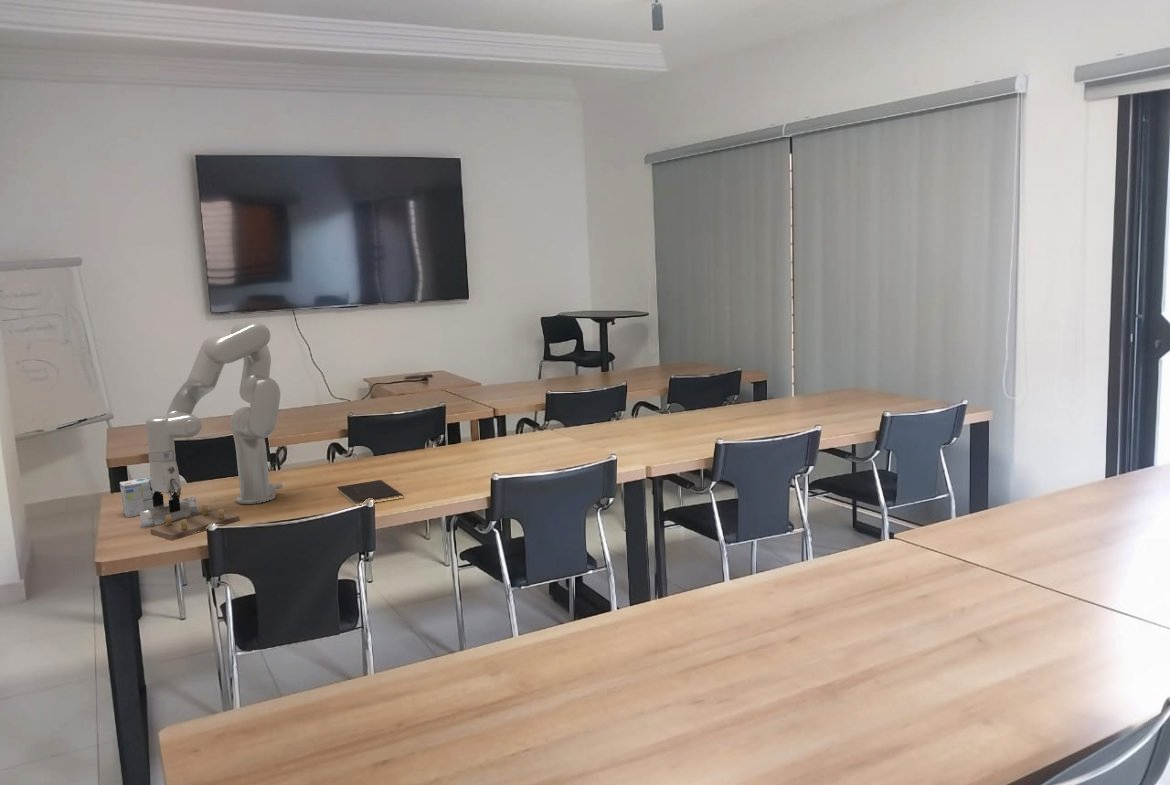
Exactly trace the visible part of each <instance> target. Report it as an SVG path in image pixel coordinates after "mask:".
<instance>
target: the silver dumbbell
mask: <svg viewBox="0 0 1170 785" xmlns="http://www.w3.org/2000/svg"><path fill="white" fill-rule="evenodd" d="M179 500H180V511H177V512H173V513H171V512H170V510H169V502H168V503H164V504H163V505H160V506H156V507H152V508H148V509H143V510H140V511H139V512H140V515H139V519H140V525H141V526H140V527H141V528H142V527H149V528H152V527H151V526H153V527H155V526H158V525H157V524H159V525H161V524H160V523H162V524H165V523H164V522H166V518H165V516H167V515H171V519H172V520H173V521H176V520H175V519H177V520H180V519H179V518H181V519H183V518H182V517H184V518H187V517H186V516H188V517H191V516H190V515H192V516H195V514H196V515H197V513H198V514H199V511H198V500H197V497H195V496H194V497H193V496H192V497H186V498H183V499H179ZM154 525H155V526H154Z"/></svg>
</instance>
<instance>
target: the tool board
mask: <svg viewBox="0 0 1170 785" xmlns="http://www.w3.org/2000/svg"><path fill="white" fill-rule="evenodd" d="M165 518H166V523H165V524H163V525H160V526H155V527H151V528H150V534H151V535H153V534H154V536H157V537H160V538H163V537H164V539H166V538H167V539H166V540H170V541H174V540H178V539H180V538H184V536H185V537H187V536H186V535H188V536H190V535H189V534H191V535H194V534H193V533H195V532H198V531H202V532H204V531H203V530H205V529H206V527H207V526H208V525H209V524H211V523H216V524H225V525H228V524H232V523H235V522H238V521H241V518H240V515H238V514H234V513H231V512H226V511H224V508H219V509H217V510H213V511H210V510H209V505H208V504H205V505H202V514H199V515H196V516H195V515H194V516H192V517H189V518H188V517H187V518H185V519H184V518H181V519H180V520H178V521H172V519H171V515H167V516H165ZM205 531H206V530H205ZM198 533H199V532H198ZM195 534H196V533H195ZM173 539H174V540H173Z"/></svg>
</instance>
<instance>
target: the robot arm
mask: <svg viewBox="0 0 1170 785" xmlns="http://www.w3.org/2000/svg"><path fill="white" fill-rule="evenodd" d="M270 339H271V331H270V329H269V328H268V327H267V326H266V325H265V324H263V323H261V322H255V321H254V322H252V321H241V322H236V323H235V324H233V326H232V328H231V330H230V334H228V335H226V336H218V335H217V336H216V335H215V336H209V337H207V338H206V339H205V340H203V342H202V344H201V345H200V347H199V350H198V353H197V354H196V355H197V356H196V358H195V361H194V363H193V365H192V368H191V370H190V372H189V375H188V376H187V379H186V381H184V383H183V384H182V385H181V386H180V388H179V389H178V391H177V392H176V394H175V395H174V396H173V398H172V400H171V402H170V405H169V406H168V410H167V412H166V414H165V415H164V416H163V415H162V416H153V417H149V418H147V419H146V420H145V431H146V441H147V442H146V443H147V444H146V445H147V452H148V453H147V454H148V463H149V477H150V480H149V485H150V489H151V491H152V492H151V495H152V499H153V507H156V506H160V505H163V504H165V502H164V501H165V500H164V494H166V495H167V496H168V498H169V500H168V503H169V510H170V512H171V513H173V512H177V511H180V500H181V499H180V498H181V491H182V486H181V479H180V473H179V471H180V470H179V467H178V463H177V460H176V459H177V458H176V450H175V449H176V448H175V446H176V445H175V439H187V438H188V439H191V438H193V437H195V436H197V435H199V433H200V432H201V431H202V427H203V426H202V422H201V419H200V418H199V417H198V416H195V415H194V414H192V413H193V411H194V410H195V407H196V405H197V404H198V403H199V401H200V400H201V399H202V398H203V397H205V396H207V395H208V394H209V393H211V392H212V391H214V389H215V388H216V386H217V384H218V381H219V378H220V376H221V374H222V371H223V369H224V367H225V364H227V365H228V364H232V363H235V362H237V361H239V360H241V359H243V366H242V373H241V379H240V383H239V384H240V386H239V391H238V392H239V396H240V398H241V399H242V400H243V401H244V402H246V403H248V404H250V405H249V406H246V407H245V406H244V407H240V408H238V409H236V410H235V411H234V412H233V414H232V416H231V417H230V427H231V428H230V429H231V432H232V437H233V440H234V445H235V447H234V448H235V452H236V464H237V473H238V474H237V475H238V483H239V484H238V485H239V490H240V491H239V492H240V495H238V496H237V497H236V498H235V502H236V503H237V504H241V505H254V504H255V505H256V503H257V504H261V503H262V502H263V503H266V501H267V502H270V501H273V500H274V499H276V492H275V490H279V489H282V488H283V487H284V485H283V483H282V482H278V483H270V474H269V465H268V464H269V463H268V455H267V454H268V453H267V452H268V451H267V445H266V440H265V438H268V437H270V436H271V435H272V434H273V432H274V430H275V428H276V426H277V425H276V424H277V418H278V414H279V406H280V402H281V389H280V386H279V384H278V383H277V381H276V380H275V379H273V378H271V377H270V373H271V364H272V357H271V351H270V350H269V346H268V344H269V342H270V341H271V340H270ZM153 495H154V496H153ZM269 500H270V501H269Z"/></svg>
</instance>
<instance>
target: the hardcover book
mask: <svg viewBox="0 0 1170 785" xmlns="http://www.w3.org/2000/svg"><path fill="white" fill-rule="evenodd" d="M336 489H338V492H339V491H340V492H341V493H342V494H343V495H344V496H345V497H344V496H343V495H342V494H341V493H340V492H339V493H340V494H341V495H342V496H343V497H344V498H346V497H347V498H348V499H349V500H350V501H351V502H350V501H349V500H348V499H347V498H346V499H347V500H348V501H349V502H350V503H352V504H353V503H354V504H360V503H363V502H364V501H365V500H366V499H368V498H373V499H374V500H375V501H376V500H381V499H388V498H394V497H399V496H403V497H404V495H403V493H401V492H399V490H397V489H395V488H394V487H392V486H391V485H390V484H389V483H386V482H385V481H383V480H381V479H378V480H377V479H376V480H373V481H372V480H371V481H367V482H366V481H365V482H359V483H352V484H346V485H340V486H336ZM354 504H353V505H354Z"/></svg>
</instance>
